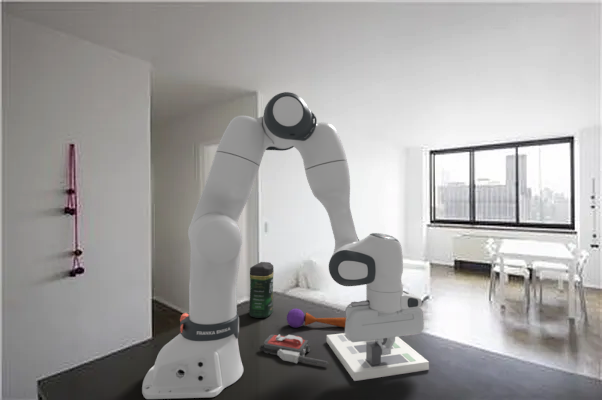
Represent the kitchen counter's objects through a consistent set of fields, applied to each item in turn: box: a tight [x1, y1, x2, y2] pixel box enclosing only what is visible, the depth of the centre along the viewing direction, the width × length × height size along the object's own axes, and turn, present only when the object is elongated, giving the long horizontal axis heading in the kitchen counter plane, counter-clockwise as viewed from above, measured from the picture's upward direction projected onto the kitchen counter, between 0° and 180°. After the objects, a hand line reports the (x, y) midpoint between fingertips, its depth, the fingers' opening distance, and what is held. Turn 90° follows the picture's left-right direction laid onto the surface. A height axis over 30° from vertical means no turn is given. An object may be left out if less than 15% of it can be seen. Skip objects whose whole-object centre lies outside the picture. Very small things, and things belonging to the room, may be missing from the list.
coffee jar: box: [248, 261, 275, 319], centre depth 113 cm, size 10×8×19 cm
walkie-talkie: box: [258, 333, 329, 365], centre depth 85 cm, size 9×4×20 cm
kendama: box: [286, 308, 346, 329], centre depth 103 cm, size 6×6×20 cm
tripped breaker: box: [366, 341, 381, 365], centre depth 77 cm, size 2×3×4 cm
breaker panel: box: [326, 332, 430, 382], centre depth 85 cm, size 20×20×2 cm
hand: (384, 353), depth 78 cm, fingers closed
